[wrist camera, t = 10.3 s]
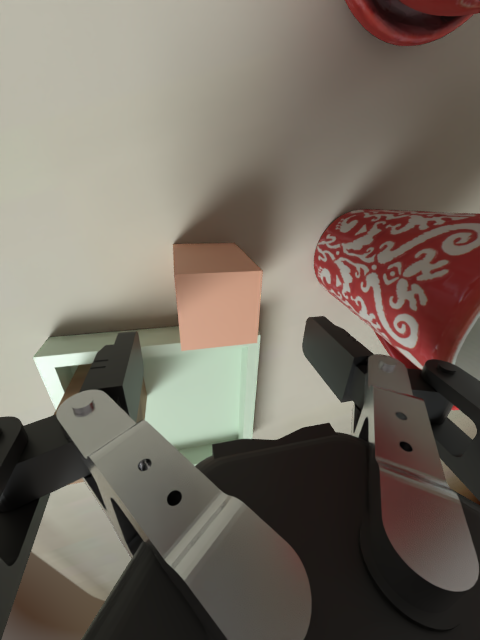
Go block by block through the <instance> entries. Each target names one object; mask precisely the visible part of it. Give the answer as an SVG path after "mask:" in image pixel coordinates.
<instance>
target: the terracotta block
mask: <svg viewBox="0 0 480 640" xmlns="http://www.w3.org/2000/svg"><path fill="white" fill-rule="evenodd" d="M173 255H174V278H175V289H176V299H177V310H178V321H179V332H180V342H181V351H186V350H196V349H205V348H215V347H224V346H233V345H243V344H252V343H257V339H258V326H259V313H260V300H261V287H262V274H263V271H262V270H261V269H260V268H259V267H258V266H257V265H256V264H255V263H254V262H253V261H252V260H251V259H250V258H249V257H248V256H247V255H246V254H245V253H244V252H243V251H242V250H241V249H240V248H239V247H238V246H237V245H236V244H235V243H201V244H173Z"/></svg>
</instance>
